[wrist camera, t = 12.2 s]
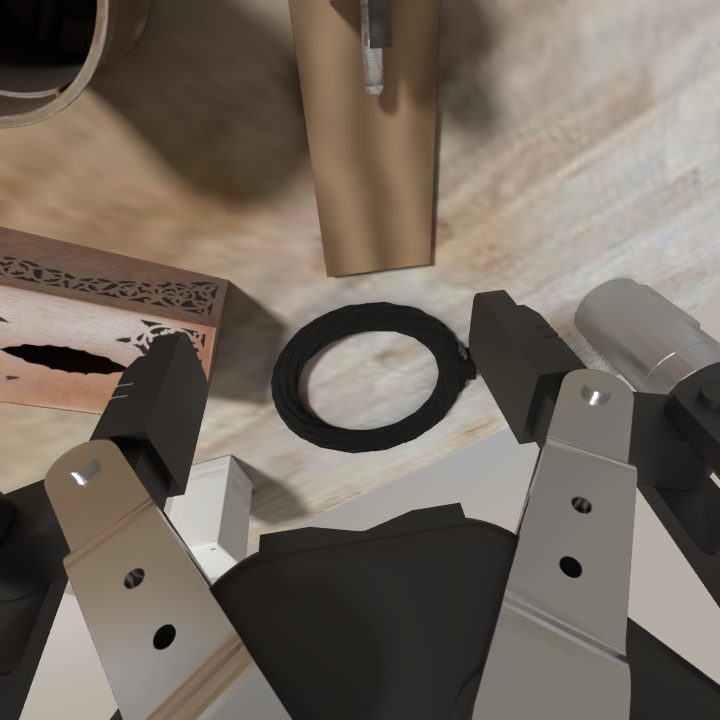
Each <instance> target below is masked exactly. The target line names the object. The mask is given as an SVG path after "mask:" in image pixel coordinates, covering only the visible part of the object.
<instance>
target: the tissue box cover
mask: <svg viewBox="0 0 720 720" xmlns="http://www.w3.org/2000/svg"><path fill="white" fill-rule="evenodd" d="M228 282H229V280H225V279H221V278H217V277H212V276H208V275H204V274H200V273H195V272H191V271H187V270H183V269H178V268H174V267H170V266H166V265H161V264H157V263H153V262H149V261H144V260H140V259H136V258H132V257H127V256H123V255H119V254H115V253H110V252H106V251H102V250H98V249H93V248H89V247H85V246H81V245H76V244H72V243H68V242H64V241H59V240H55V239H51V238H47V237H42V236H38V235H34V234H30V233H25V232H21V231H17V230H13V229H8V228H4V227H0V402H3V403H11V404H19V405H27V406H35V407H43V408H51V409H59V410H67V411H75V412H83V413H91V414H99V415H102V414H103V412H104V410H105V408H106V406H107V404H108V402H109V400H111V399H112V397H111V396H112V394H113V392H114V390H115V388H116V387H118V386H117V384H118V382H119V380H120V378H121V376H122V374H123V372H124V370H125V369H126V368H127V367H128V366H129V365H130V364H131V363H132V362H133V361H134V360H135V359H136V358H138V357H139V356H146V354H147V351H148V349H149V347H150V345H151V343H152V340H153V338H154V337H155V336H157V335H164V334H172V333H179V332H186V333H187V334H188V335H189V337H190V339H191V341H192V344H193V346H194V348H195V351H196V353H197V355H198V358H199V360H200V362H201V365H202V367H203V369H204V372H205V374H206V377H207V382H208V392H209V387H210V383H211V379H212V375H213V369H214V363H215V358H216V352H217V346H218V340H219V334H220V328H221V323H222V317H223V311H224V305H225V299H226V293H227V287H228ZM51 345H53V346H51ZM57 346H59V347H57ZM63 347H66V348H63ZM69 348H72V349H69ZM75 349H76V350H75ZM81 350H84V351H81Z"/></svg>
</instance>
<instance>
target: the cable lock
mask: <svg viewBox="0 0 720 720" xmlns="http://www.w3.org/2000/svg"><path fill="white" fill-rule="evenodd" d="M364 331H395V332H398V333H401V334H404V335H407V336H410V337H414V338H415V339H417V340H418V341H419V342H421V343H422V344H423V345H425V346H426V347H428V348H429V350H430V351H431V352H432V354H433V355H434V356H435V358H436V362H437V366H438V370H439V375H438V380H437V384H436V387H435V389H434V391H433V393H432V395H431V396H430V398H429V399H428V400H427V401H426V402H425V403H424V404H423V405H422V406H421V408H420V409H418V410H417V411H416V412H415V413H413V414H411V415H410V416H408V417H406V418H405V419H403V420H401V421H399V422H397V423H395V424H392V425H388V426H385V427H381V428H378V429H374V430H342V429H339V428H336V427H332V426H329V425H326V424H324V423H322V422H320V421H317V420H316V419H314V418H313V417H312V416H311V415H310V414H309V413H308V412H307V411H306V409H305V408H304V406H303V405H302V403H301V401H300V400H299V398H298V395H297V394H298V383H299V378H300V375H301V373H302V370H303V367H304V365H305V363H306V362H307V361H308V360H309V359H310V358H311V357H312V356H314V355H315V354H316V353H317V352H318V351H320V350H321V349H322V348H323V347H325V346H326V345H328V344H329V343H331V342H333V341H336V340H338V339H341V338H343V337H346V336H348V335H352V334H356V333H360V332H364ZM476 372H477V373H479V374H480V372H479V370H478V368H477V366H476V364H475V363H474V361H473V359H472V357H471V353H470V350H469V348H468V347H467V348H463V347H462V346H461V344H460V343H459V342H458V341H456V339H455V337H454V336H453V335H452V334H451V333H450V332H449V331H448V330H447V329H446V327H445V326H444V325H443V324H442V323H440V322H439V321H438V320H437V319H434V318H432V317H430V316H428V315H426V314H425V313H423V312H422V311H420V310H419V309H416V308H413V307H410V306H402V305H394V304H390V303H387V302H377V303H366V304H359V305H348V306H345V307H342V308H339V309H337V310H334V311H331V312H329V313H327V314H325V315H323V316H321V317H319V318H317V319H315V320H313V321H312V322H310V323H309V324H307V325H306V326H304V327H303V328H302V329H300V330H299V331H298V332H297V333H296V334H295V335H294V336H293V338H292V339H291V340H290V341H289V342H288V344H287V345H286V347H285V348H284V349H283V351H282V352H281V354H280V355H279V358H278V360H277V362H276V364H275V366H274V370H273V375H272V380H271V386H272V397H273V400H274V403H275V407H276V409H277V411H278V413H279V415H280V417H281V418H282V420H283V421H284V422H285V424H286V425H287V426H288V428H289V429H290V430H291V431H293V432H294V433H295V434H296V435H298V436H299V437H300V438H302V439H304V440H307V441H309V442H310V443H312V444H315V445H317V446H319V447H321V448H326V449H332V450H337V451H342V452H348V453H361V452H370V451H381V450H387V449H389V448H392V447H395V446H397V445H400V444H402V443H406V442H409V441H411V440H414V439H416V438H417V437H419V436H420V435H422V434H423V433H424V432H426V431H428V430H430V429H431V428H432V427H433V426H435V425H436V424H437V423H438V422H440V421H441V420H442V419H443V418H444V417H445V415H446V413H447V412H448V410H449V409H450V408H451V406H452V405H453V404H454V402H455V400H456V398H457V395H458V393H459V392H460V393H462V391H463V390H464V389H465V387H466V386H465V385H467V381H468V379H476Z"/></svg>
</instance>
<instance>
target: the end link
mask: <svg viewBox="0 0 720 720" xmlns="http://www.w3.org/2000/svg"><path fill="white" fill-rule="evenodd" d="M328 1H334V0H328ZM360 15H361V33H362V51H363V68H364V86H365V91H366V93H367V94H368V95H369V96H371V97H377V96H379V95H380V94H381V93H382V91H383V89H384V69H383V48H377V49H370V42H369V21H368V0H360Z"/></svg>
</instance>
